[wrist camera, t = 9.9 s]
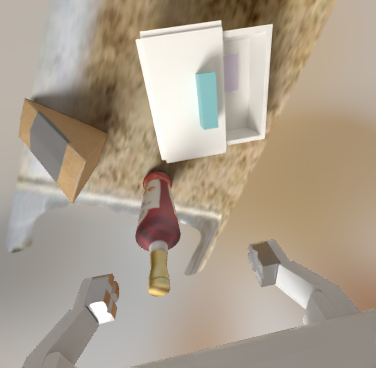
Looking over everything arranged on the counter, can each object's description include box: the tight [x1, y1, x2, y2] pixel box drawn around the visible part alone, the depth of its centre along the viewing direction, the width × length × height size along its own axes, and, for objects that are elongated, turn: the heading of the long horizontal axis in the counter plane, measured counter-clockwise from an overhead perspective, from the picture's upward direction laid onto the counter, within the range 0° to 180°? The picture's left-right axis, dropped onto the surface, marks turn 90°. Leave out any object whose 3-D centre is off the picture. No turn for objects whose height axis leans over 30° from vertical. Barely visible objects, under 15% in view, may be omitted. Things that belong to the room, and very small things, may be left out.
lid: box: [136, 20, 226, 163], centre depth 32 cm, size 20×13×6 cm, turn 7°
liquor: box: [136, 172, 180, 296], centre depth 36 cm, size 7×7×28 cm
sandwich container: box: [19, 98, 108, 203], centre depth 33 cm, size 9×15×15 cm, turn 61°
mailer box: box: [222, 24, 273, 145], centre depth 37 cm, size 18×11×7 cm, turn 7°
